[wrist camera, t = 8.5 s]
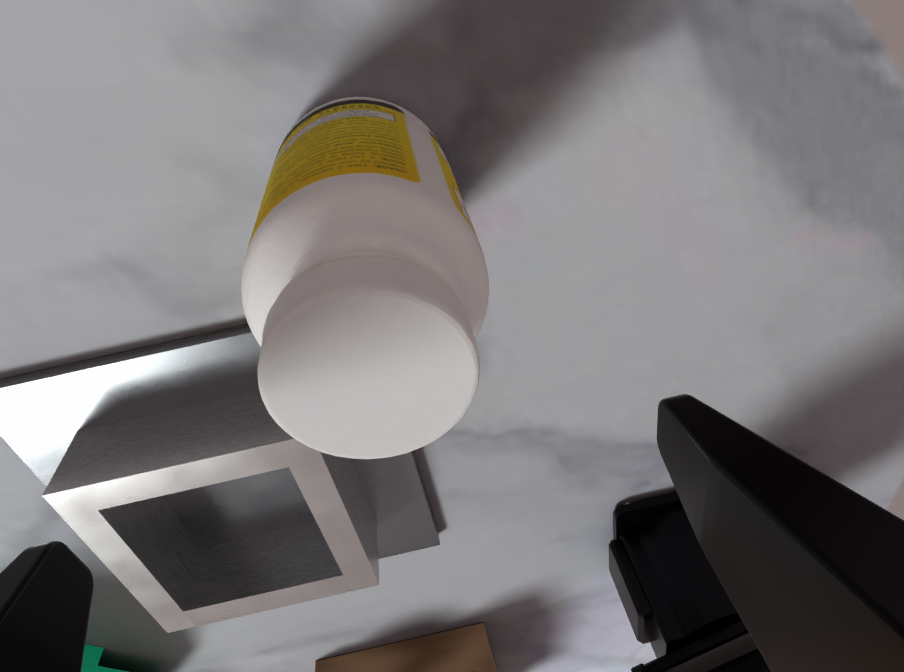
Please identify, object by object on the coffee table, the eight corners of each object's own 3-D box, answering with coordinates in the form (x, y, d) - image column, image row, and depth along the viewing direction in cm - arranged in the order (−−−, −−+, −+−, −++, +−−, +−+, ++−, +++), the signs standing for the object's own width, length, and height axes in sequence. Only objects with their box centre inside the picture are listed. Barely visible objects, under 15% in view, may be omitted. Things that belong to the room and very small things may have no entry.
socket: (365, 298, 21) (367, 359, 18) (438, 534, 29) (448, 602, 26) (-26, 385, 21) (-89, 461, 18) (159, 598, 29) (137, 674, 26)
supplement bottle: (240, 199, 18) (152, 413, 10) (341, 50, 16) (331, 172, 8) (381, 289, 21) (399, 517, 13) (484, 170, 19) (581, 351, 11)
